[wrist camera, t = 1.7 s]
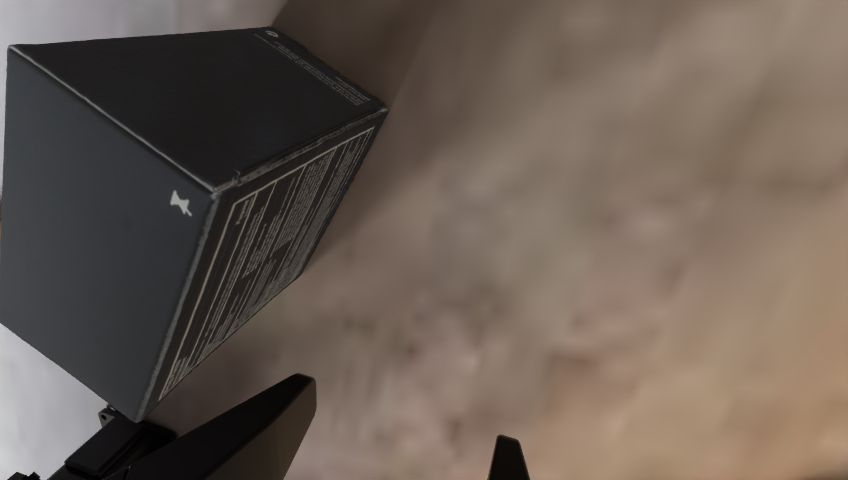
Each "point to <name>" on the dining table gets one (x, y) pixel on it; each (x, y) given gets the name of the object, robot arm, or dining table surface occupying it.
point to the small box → (165, 195)
